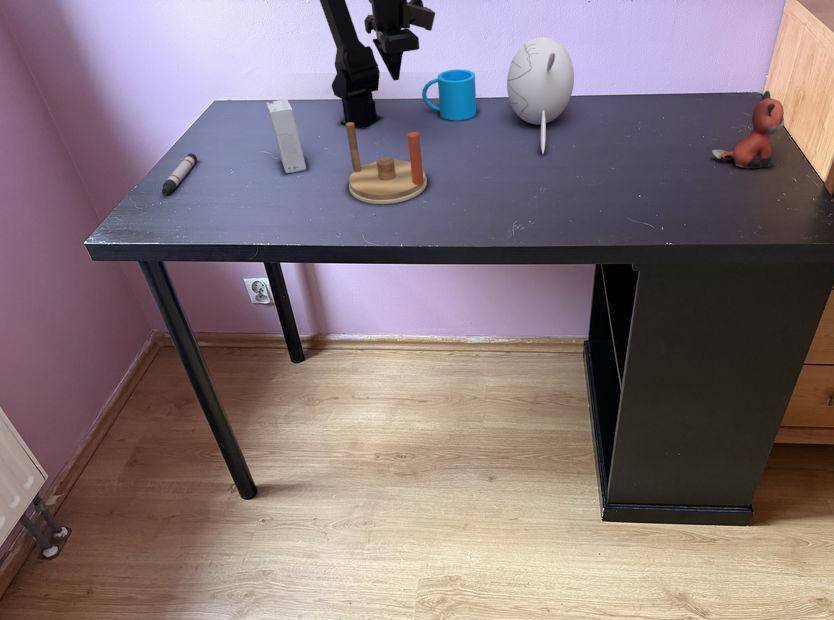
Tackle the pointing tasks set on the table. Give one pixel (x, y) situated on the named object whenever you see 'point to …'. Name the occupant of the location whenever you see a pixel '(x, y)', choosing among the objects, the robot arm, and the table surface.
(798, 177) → the table surface
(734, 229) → the table surface
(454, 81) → the mug
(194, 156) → the marker
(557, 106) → the cracked white egg
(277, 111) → the cosmetic box
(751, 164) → the stuffed fox
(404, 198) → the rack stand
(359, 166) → the wooden peg board
